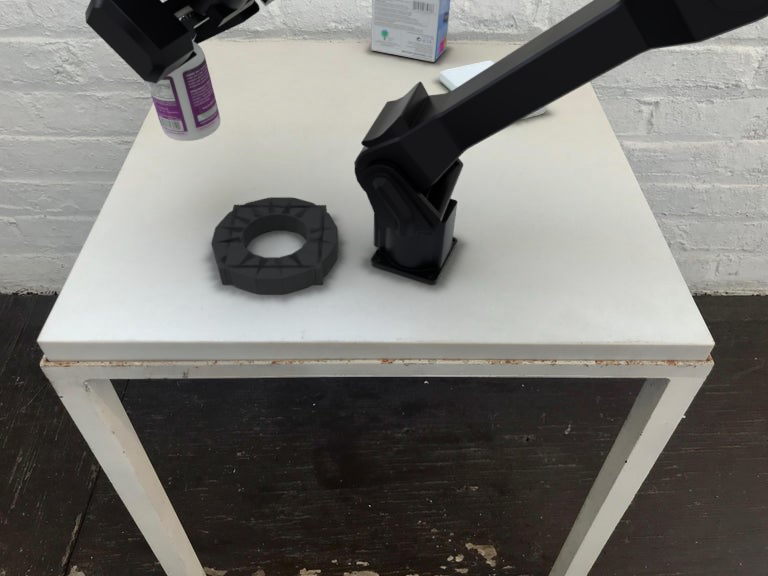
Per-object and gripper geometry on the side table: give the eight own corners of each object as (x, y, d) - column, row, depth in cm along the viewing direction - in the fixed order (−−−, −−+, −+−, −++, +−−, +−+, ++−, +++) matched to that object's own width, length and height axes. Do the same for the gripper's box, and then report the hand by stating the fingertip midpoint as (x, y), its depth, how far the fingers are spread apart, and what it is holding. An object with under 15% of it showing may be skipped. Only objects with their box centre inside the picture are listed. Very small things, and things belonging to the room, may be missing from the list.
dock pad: (339, 213, 63) (339, 197, 61) (335, 294, 55) (334, 278, 53) (226, 212, 63) (223, 196, 61) (206, 294, 55) (201, 278, 53)
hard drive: (490, 70, 85) (545, 113, 77) (438, 82, 82) (489, 128, 75) (492, 59, 84) (547, 101, 76) (439, 70, 81) (491, 116, 73)
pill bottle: (213, 108, 60) (188, 6, 54) (228, 134, 57) (203, 28, 50) (157, 122, 59) (125, 19, 52) (169, 149, 55) (135, 42, 49)
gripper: (233, -201, 46) (156, -53, 57) (47, -151, 34) (-5, 24, 45) (336, -74, 49) (244, 43, 61) (200, 12, 37) (116, 138, 49)
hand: (160, 58), depth 54 cm, fingers closed on pill bottle, 5 cm apart
